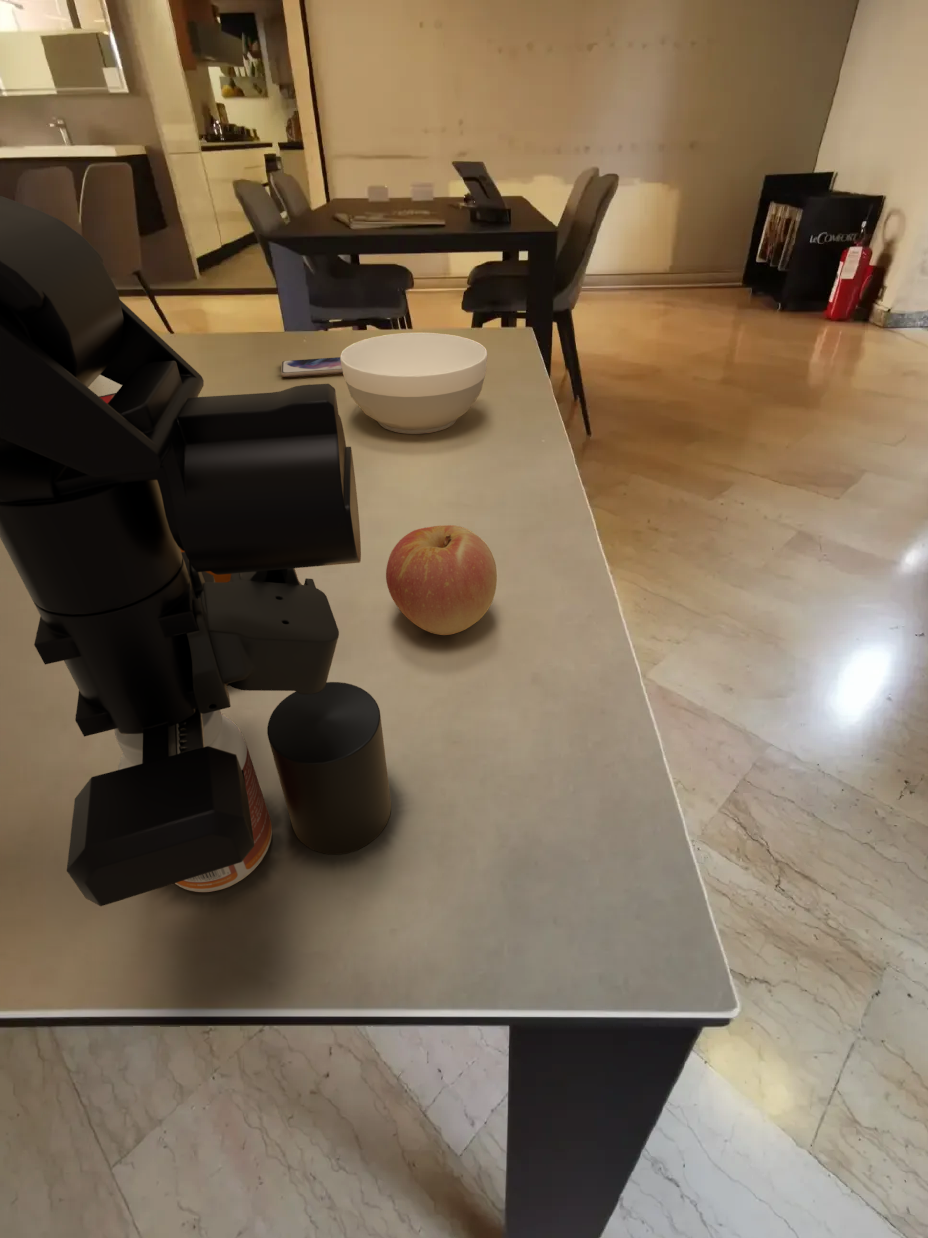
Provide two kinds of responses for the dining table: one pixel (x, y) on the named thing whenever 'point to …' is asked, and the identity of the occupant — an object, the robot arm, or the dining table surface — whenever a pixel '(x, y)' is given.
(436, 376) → the bowl
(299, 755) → the charcoal tin
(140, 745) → the pill bottle
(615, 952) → the dining table surface
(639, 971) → the dining table surface
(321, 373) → the smartphone
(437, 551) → the apple
